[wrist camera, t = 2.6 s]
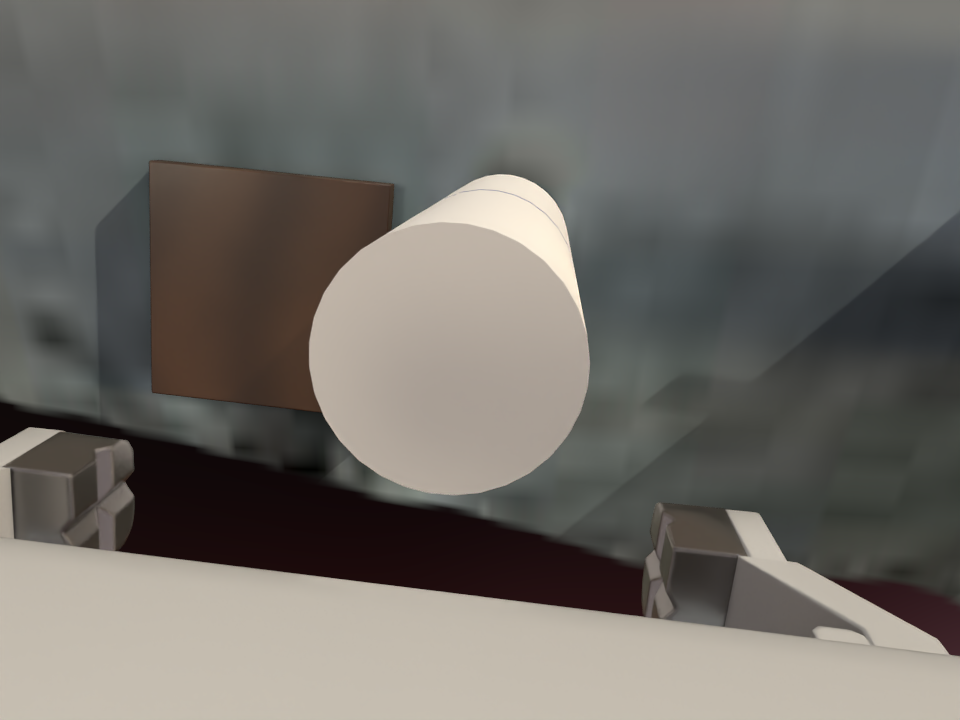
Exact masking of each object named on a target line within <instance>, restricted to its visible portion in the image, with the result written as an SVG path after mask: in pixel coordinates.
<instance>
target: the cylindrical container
mask: <svg viewBox="0 0 960 720" xmlns="http://www.w3.org/2000/svg"><path fill="white" fill-rule="evenodd" d="M309 368H310V373H311V379H312V384H313V389H314V393H315V396H316V398H317V401H318V403H319V406H320V408H321V411H322V413H323V415H324V418H325V419H326V421H327V422H328V424H329V425H330V427H331V428H332V430H333V431H334V433H335V434H336V436H337V438H338V439H339V441H340V442H341V443H342V444H343V445H344V446H345V447H346V448H347V449H348V450H349V451H350V452H351V453H352V454H353V455H354V456H355V457H356V458H357V459H358V460H359V461H360V462H362V463H363V464H365V465H366V466H368V467H369V468H371V469H372V470H373V471H375V472H376V473H378V474H379V475H381V476H382V477H385V478H387V479H389V480H391V481H393V482H396V483H398V484H400V485H402V486H404V487H408V488H412V489H415V490H419V491H423V492H427V493H434V494H446V495H461V494H472V493H481V492H484V491H488V490H491V489H495V488H498V487H502V486H505V485H507V484H509V483H511V482H513V481H515V480H517V479H519V478H521V477H523V476H525V475H527V474H529V473H530V472H532V471H533V470H534V469H535V468H537V467H538V466H539V465H540V464H542V463H543V462H544V461H545V460H546V459H548V458H549V457H550V456H551V455H552V454H553V453H554V452H555V451H556V449H557V448H558V447H559V446H560V444H561V443H562V442H563V441H564V440H565V438H566V437H567V436H568V435H569V433H570V431H571V429H572V427H573V425H574V423H575V421H576V419H577V417H578V415H579V414H580V412H581V408H582V405H583V402H584V398H585V395H586V391H587V388H588V378H589V368H590V358H589V348H588V339H587V332H586V327H585V322H584V317H583V312H582V306H581V301H580V296H579V291H578V286H577V280H576V275H575V270H574V265H573V259H572V254H571V249H570V244H569V239H568V233H567V228H566V225H565V221H564V218H563V215H562V213H561V211H560V209H559V208H558V206H557V204H556V202H555V201H554V200H553V199H552V198H551V197H550V196H549V194H548V193H547V192H546V191H544V190H543V189H542V188H540V187H539V186H538V185H536V184H535V183H533V182H531V181H529V180H526V179H524V178H521V177H517V176H513V175H502V174H498V175H491V176H485V177H482V178H479V179H477V180H474V181H472V182H470V183H468V184H467V185H465V186H463V187H462V188H460V189H458V190H457V191H455V192H453V193H452V194H450V195H449V196H447V197H445V198H444V199H442V200H441V201H439V202H437V203H436V204H434V205H433V206H431V207H429V208H427V209H426V210H424V211H422V212H421V213H419V214H417V215H416V216H414V217H412V218H411V219H409V220H408V221H406V222H404V223H403V224H401V225H400V226H398V227H396V228H395V229H393V230H392V231H390V232H388V233H387V234H385V235H384V236H382V237H380V238H379V239H377V240H376V241H374V242H372V243H371V244H369V245H368V246H366V247H364V248H363V249H361V250H360V251H359V252H358V253H357V254H356V255H355V256H354V257H352V258H351V259H350V260H349V261H348V262H347V263H346V264H345V265H344V266H343V267H342V268H341V269H340V270H339V271H338V273H337V274H336V276H335V277H334V279H333V280H332V282H331V283H330V285H329V286H328V288H327V289H326V290H325V292H324V294H323V296H322V299H321V301H320V304H319V306H318V308H317V311H316V313H315V316H314V319H313V325H312V330H311V335H310V340H309Z"/></svg>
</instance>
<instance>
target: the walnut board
mask: <svg viewBox="0 0 960 720" xmlns="http://www.w3.org/2000/svg"><path fill="white" fill-rule="evenodd" d="M149 195H150V281H151V367H152V393H159V394H167V395H176V396H185V397H193V398H202V399H210V400H219V401H228V402H236V403H245V404H253V405H262V406H271V407H279V408H288V409H296V410H305V411H314V412H322V411H321V408H320V406H319V403H318V401H317V398H316V396H315V393H314V389H313V384H312V379H311V373H310V368H309V340H310V335H311V330H312V325H313V319H314V316H315V313H316V311H317V308H318V306H319V304H320V301H321V299H322V296H323V294H324V292H325V290H326V289H327V288H328V286H329V285H330V283H331V282H332V280H333V279H334V277H335V276H336V274H337V273H338V271H339V270H340V269H341V268H342V267H343V266H344V265H345V264H346V263H347V262H348V261H349V260H350V259H351V258H352V257H354V256H355V255H356V254H357V253H358V252H359V251H360V250H361V249H363V248H364V247H366V246H368V245H369V244H371V243H372V242H374V241H376V240H377V239H379V238H380V237H382V236H384V235H385V234H387V233H388V232H390V231H391V229H392V213H393V198H394V184H391V183H381V182H371V181H361V180H351V179H342V178H332V177H322V176H312V175H302V174H293V173H283V172H273V171H263V170H253V169H243V168H234V167H224V166H214V165H204V164H194V163H185V162H175V161H165V160H151V161H149Z"/></svg>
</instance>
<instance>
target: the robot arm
mask: <svg viewBox="0 0 960 720" xmlns="http://www.w3.org/2000/svg"><path fill="white" fill-rule="evenodd" d="M133 470H134V459H133V449H132V447H131V445H130V444H129V442H128V441H127V440H119V439H112V438H104V437H97V436H89V435H82V434H74V433H67V432H64V431H60V430H50V429H40V428H27V429H26V430H24V431H22V432H20V433H19V434H17V435H15V436H13V437H11V438H9V439H8V440H6V441H4V442H2V443H0V720H960V656H953V655H949V653H948V652H947V651H946V649H945V648H944V647H943V646H942V644H941V643H940V642H939V640H938V639H936V638H934V637H932V636H931V635H929V634H927V633H925V632H923V631H921V630H920V629H918V628H916V627H914V626H912V625H910V624H909V623H907V622H905V621H903V620H901V619H899V618H898V617H896V616H894V615H892V614H890V613H889V612H887V611H885V610H883V609H881V608H879V607H878V606H876V605H874V604H872V603H870V602H868V601H867V600H865V599H863V598H861V597H859V596H857V595H856V594H853V593H852V592H850V591H848V590H846V589H845V588H843V587H841V586H839V585H837V584H836V583H834V582H832V581H830V580H828V579H826V578H825V577H823V576H821V575H819V574H817V573H815V572H814V571H812V570H810V569H808V568H806V567H804V566H803V565H801V564H799V563H797V562H789V561H787V560H786V559H785V557H784V555H783V554H782V552H781V550H780V548H779V547H778V545H777V543H776V542H775V540H774V538H773V536H772V535H771V533H770V531H769V530H768V528H767V526H766V524H765V523H764V521H763V519H762V518H761V516H760V514H758V513H755V512H747V511H736V510H725V509H724V508H714V507H704V506H693V505H683V504H672V503H662V502H659V503H658V504H656V506H655V509H654V513H653V517H652V523H651V528H650V534H651V538H652V542H653V546H654V551H653V552H652V553H651V554H650V555H649V556H648V557H647V558H646V559H645V566H644V574H643V582H642V610H643V616H644V617H640V616H632V615H624V614H615V613H608V612H600V611H592V610H584V609H576V608H568V607H560V606H552V605H543V604H536V603H527V602H520V601H511V600H504V599H496V598H487V597H479V596H471V595H463V594H455V593H447V592H439V591H431V590H423V589H414V588H406V587H399V586H390V585H383V584H375V583H366V582H358V581H350V580H342V579H334V578H326V577H317V576H310V575H302V574H294V573H285V572H278V571H269V570H261V569H253V568H245V567H237V566H229V565H221V564H213V563H205V562H197V561H189V560H181V559H173V558H165V557H157V556H148V555H140V554H132V553H124V552H117V551H118V550H119V549H120V548H121V547H122V546H123V545H124V544H125V542H126V539H127V537H128V535H129V533H130V531H131V528H132V524H133V518H134V512H135V502H134V501H135V497H134V495H133V494H132V493H131V491H130V489H129V488H128V486H127V485H126V483H125V481H126V480H127V478H128V477H129V476H130V474H131V473H132V472H133Z"/></svg>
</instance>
